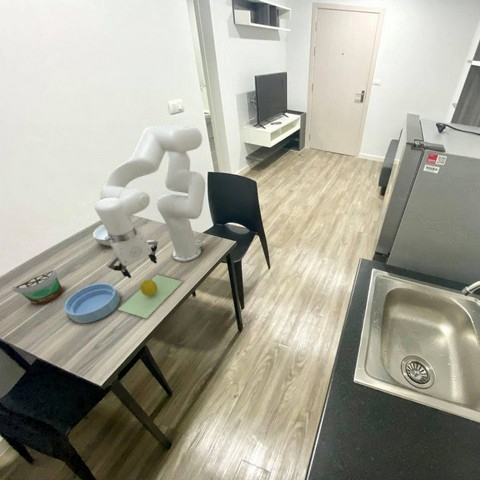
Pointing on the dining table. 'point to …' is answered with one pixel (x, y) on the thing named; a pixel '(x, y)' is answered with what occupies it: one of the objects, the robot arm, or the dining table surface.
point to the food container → (41, 288)
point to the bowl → (92, 303)
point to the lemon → (148, 287)
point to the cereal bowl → (101, 235)
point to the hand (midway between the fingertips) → (141, 268)
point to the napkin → (150, 297)
